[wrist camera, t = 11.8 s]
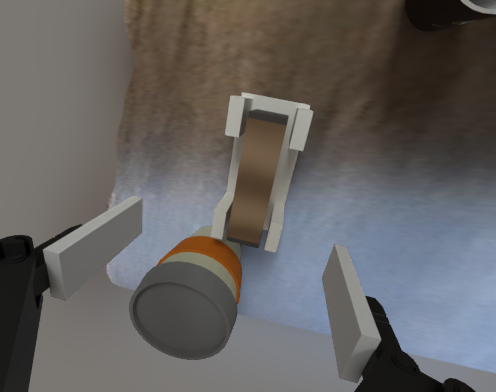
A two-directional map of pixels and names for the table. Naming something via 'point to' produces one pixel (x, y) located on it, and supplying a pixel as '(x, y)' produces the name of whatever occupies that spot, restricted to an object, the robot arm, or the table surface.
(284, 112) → the post stand
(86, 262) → the robot arm
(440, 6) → the coffee mug
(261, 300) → the table surface
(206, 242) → the reusable coffee cup
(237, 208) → the rail
